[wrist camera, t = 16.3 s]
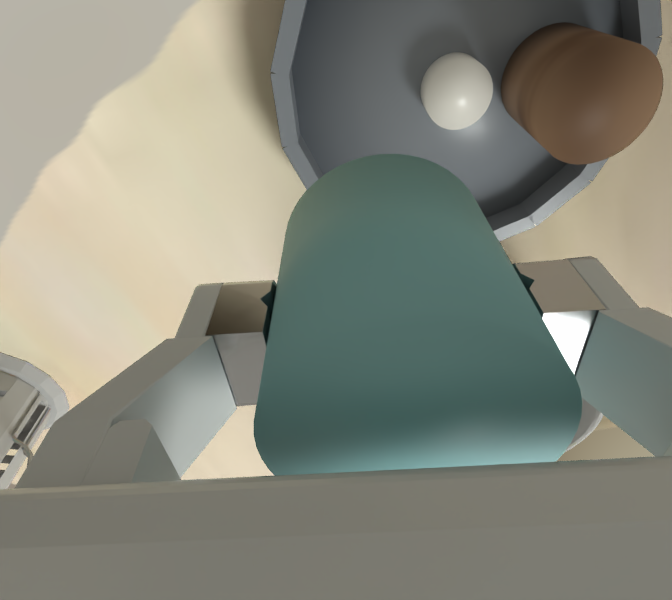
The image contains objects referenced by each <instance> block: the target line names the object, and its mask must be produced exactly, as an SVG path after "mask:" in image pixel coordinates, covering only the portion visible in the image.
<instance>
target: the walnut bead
mask: <svg viewBox="0 0 672 600" xmlns="http://www.w3.org/2000/svg"><path fill="white" fill-rule="evenodd" d="M662 89H663V74H662V69H661V66H660V63H659V61H658V59H657V57H656V56H655V55H654V54H653V53H652V51H650V50H649V49H648V48H647V47H645V46H643V45H641V44H639V43H636V42H632V41H629V40H626V39H623V38H620V37H616V36H613V35H610V34H607V33H603V32H600V31H597V30H594V29H590V28H587V27H584V26H581V25H577V24H574V23H568V22H563V23H555V24H551V25H548V26H545V27H543V28H541V29H539V30H537V31H535V32H534V33H532V34H531V35H530V36H528V37H527V38H526V39H525V40H524V41H523V42H522V43H521V44H520V45H519V46H518V47H517V48H516V50H515V51H514V52H513V54H512V55H511V57H510V59H509V61H508V62H507V65H506V67H505V70H504V73H503V76H502V82H501V97H502V102H503V104H504V107H505V109H506V111H507V112H508V114H509V115H510V116H511V117H512V118H513V119H514V120H515V121H516V122H517V123H518V124H519V125H520V126H521V127H522V128H523V129H525V130H526V131H527V132H528V133H529V134H530V135H531V136H532V137H533V138H534V139H535V140H536V141H537V142H538V143H539V144H540V145H541V146H543V147H544V148H545V149H546V150H547V151H548V152H549V153H550V154H551V155H552V156H553V157H555V158H556V159H558V160H560V161H562V162H565V163H569V164H576V165H581V164H591V163H595V162H599V161H602V160H604V159H607V158H609V157H611V156H613V155H615V154H617V153H618V152H620V151H622V150H623V149H624V148H626V147H627V146H628V145H630V144H631V143H632V142H633V141H634V140H635V139H636V138H637V137H638V136H639V135H640V134H641V133H642V132H643V131H644V129H645V128H646V127H647V125H648V124H649V122H650V121H651V119H652V118H653V116H654V114H655V112H656V110H657V107H658V105H659V102H660V99H661V95H662Z"/></svg>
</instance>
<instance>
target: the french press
mask: <svg viewBox="0 0 672 600" xmlns="http://www.w3.org/2000/svg"><path fill="white" fill-rule="evenodd" d="M68 409H69V404H68V401H67V398H66V395H65V392H64V391H63V389H62V388H61V387H60V386H59V385H58V384H57V383H56V382H55V381H54V380H53V379H52V377H51V376H49V375H48V374H46V373H45V372H43V371H41V370H40V369H38V368H36V367H35V366H33V365H32V364H30V363H28V362H26V361H23V360H20V359H17V358H15V357H12V356H9V355H6V354H3V353H0V463H8V464H9V466H8V467H7V469H6V470H0V489H7V488H8V487H9V485H10V483H11V482H12V480H13V479H14V477H15V475H16V474H17V472H18V470H19V469H20V467H21V465H22V464H23V462H24V460H25V459H26V457H28V463H27V467H28V465H29V463H30V461H31V460H32V458H33V454H32V452H31V449H32V447H33V446H34V444H35V442H36V441H37V439H38V437H39V436H40V434H41V433H42V431H43V430H44V429H48V428H51V426H52V425H53V423H54V422H55V421H56V420H58V419H59V418H60V417H62V416H63V415H64V414H66V413H67V412H68ZM9 449H17V450H18V451H17V453H16V454H15V456H10V455H6V454H7V452H8V451H9Z"/></svg>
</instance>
